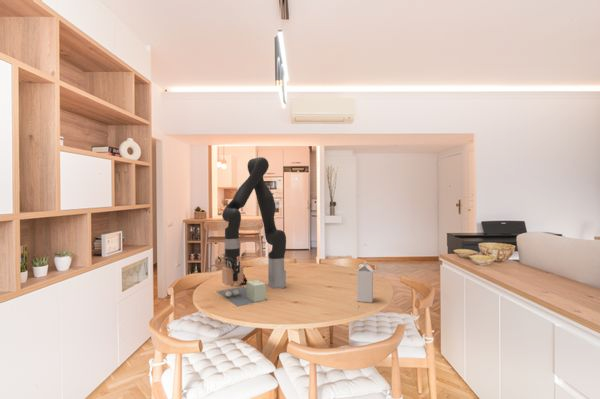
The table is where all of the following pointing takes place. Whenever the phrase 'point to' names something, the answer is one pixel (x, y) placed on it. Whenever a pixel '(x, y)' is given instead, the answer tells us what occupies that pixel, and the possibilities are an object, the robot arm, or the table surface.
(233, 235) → the robot arm
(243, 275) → the brown sculpted ring
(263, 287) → the pale green cuboid
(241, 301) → the slate mat
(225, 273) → the upright salmon pillar
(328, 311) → the table surface
